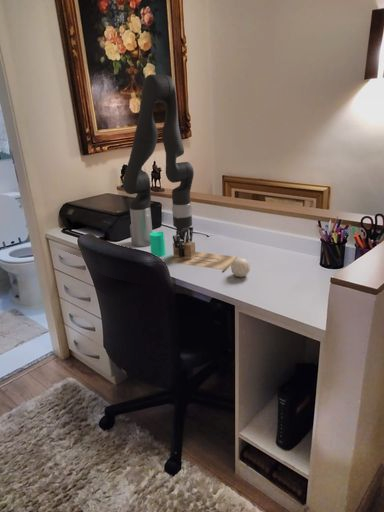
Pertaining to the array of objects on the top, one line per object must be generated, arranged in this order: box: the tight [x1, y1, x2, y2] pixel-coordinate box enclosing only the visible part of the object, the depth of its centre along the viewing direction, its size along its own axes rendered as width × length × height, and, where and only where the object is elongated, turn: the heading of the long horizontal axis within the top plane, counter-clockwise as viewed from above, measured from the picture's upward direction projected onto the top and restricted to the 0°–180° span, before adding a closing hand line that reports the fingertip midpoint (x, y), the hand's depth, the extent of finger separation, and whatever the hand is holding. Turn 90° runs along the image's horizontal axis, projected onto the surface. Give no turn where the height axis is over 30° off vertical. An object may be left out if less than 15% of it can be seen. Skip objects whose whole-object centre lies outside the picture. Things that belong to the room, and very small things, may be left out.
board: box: [168, 251, 238, 273], centre depth 154 cm, size 24×14×1 cm, turn 64°
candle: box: [149, 229, 166, 258], centre depth 160 cm, size 6×6×12 cm
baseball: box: [230, 257, 251, 278], centre depth 138 cm, size 7×7×7 cm
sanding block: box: [172, 241, 196, 259], centre depth 156 cm, size 8×4×6 cm, turn 64°
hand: (184, 254), depth 157 cm, fingers closed on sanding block, 4 cm apart
